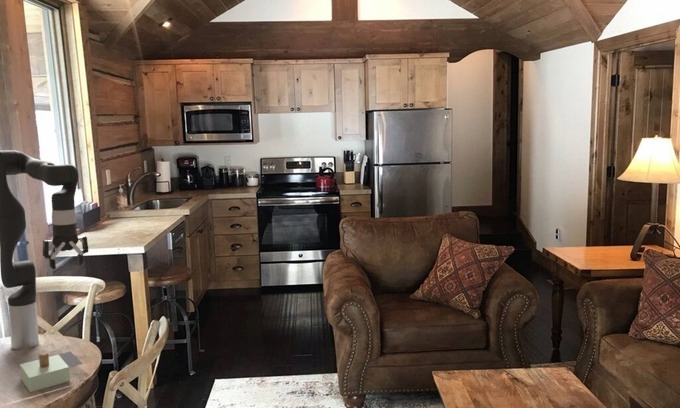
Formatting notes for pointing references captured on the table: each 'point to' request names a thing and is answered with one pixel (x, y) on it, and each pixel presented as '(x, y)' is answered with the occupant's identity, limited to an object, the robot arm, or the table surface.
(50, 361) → the cover
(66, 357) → the mat
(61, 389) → the table surface
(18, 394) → the table surface
